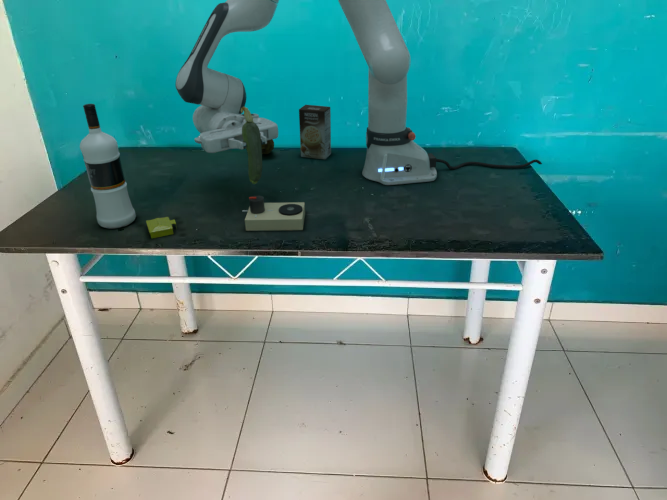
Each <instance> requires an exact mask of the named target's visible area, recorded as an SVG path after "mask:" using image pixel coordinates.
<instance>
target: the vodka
mask: <svg viewBox="0 0 667 500" xmlns="http://www.w3.org/2000/svg"><path fill="white" fill-rule="evenodd" d="M82 107H83V112H84V115H85V119H86V122H87V128H88V134H87V135H86V136H84V137H83V138H82V139H81V141H80V143H79V150H80V152H81V154H82V158H83V163H84V166H85V168H86V173H87V177H88V181H89V185H90V191H91V193H92V196H93V200H94V204H95V211H96V217H95V218H96V223H97V224H98V225H99V226H100V227H102V228H105V229H110V230H112V229H113V230H114V229H120V228H124V227H127V226H129V225H131V224H132V223H133V222H134V221H135V220H136V217H137V214H136V210H135V208H134V206H133V204H132V201H131V198H130V195H129V192H128V182H127V181H126V179H125V174H124V170H123V166H122V161H121V156H120V155H121V153H120V150H119V145H118V141H117V140H116V138H115V137H114V136H112V135H111V134H108V133H106V132H104V131H102V127H101V124H100V119H99V116H98V112H97V108H96V104H95V103H86V104H83V105H82Z"/></svg>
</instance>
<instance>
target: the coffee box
mask: <svg viewBox="0 0 667 500" xmlns="http://www.w3.org/2000/svg"><path fill="white" fill-rule="evenodd" d="M331 115H332V113H331V106H327V105H325V106H324V105H313V104H304V105H303V106H301V107H300V108H299V109H298V122H299V144H300V146H299V147H300V157H301V158H309V159H318V160H327V159H328V158H329V156H331V155H332V127H331V126H332V125H331V124H332V123H331V118H332V117H331Z"/></svg>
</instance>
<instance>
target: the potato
mask: <svg viewBox="0 0 667 500" xmlns="http://www.w3.org/2000/svg"><path fill="white" fill-rule="evenodd" d="M261 149H262V155H269V154H270V153H272V152H273V151H274V149H275V141H274V139H271V140H267V144H263V145H261Z"/></svg>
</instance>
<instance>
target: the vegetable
mask: <svg viewBox="0 0 667 500" xmlns="http://www.w3.org/2000/svg"><path fill="white" fill-rule="evenodd" d="M241 112H242V114H244V118H245V120H246V121H247V122H246V123H245V124H244V125H243V126H242V136H243V140H244V141H245V142H246V146H247V148H246V149H245V150H246V152H247V167H248V168H247V174H248V179H249V182H250V183H251V184H252V185H256V184H258V182H259V181H260V180H261V178H262V174H263V154H262V149H261V137H260V131H259V128H258V126H257V125H256V123H254V122H253V117H252V115H251V114H252V113H251V111H250V110H249V108H248V107H246V106H245V107H242V108H241Z"/></svg>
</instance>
